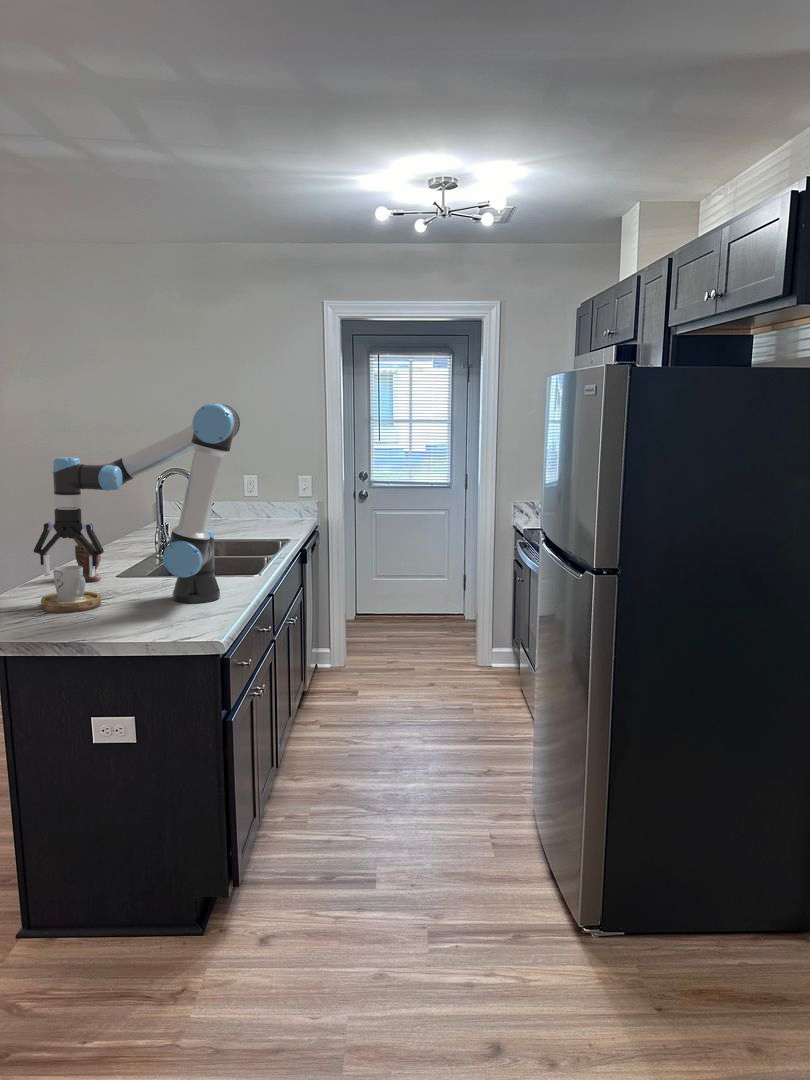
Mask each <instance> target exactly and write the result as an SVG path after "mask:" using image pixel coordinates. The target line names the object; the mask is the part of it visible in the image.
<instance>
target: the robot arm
mask: <svg viewBox="0 0 810 1080" xmlns="http://www.w3.org/2000/svg"><path fill="white" fill-rule="evenodd" d="M240 428H241V420H240V416H239V414H238V412H237V411H236V409H234V408H233V407H232V406H230V405H228V404H224V403H217V402H210V403H206V404H204V405H203V406H201V407H199V408H198V409H197V410H196V412H195V413H194V415H193V418H192V424H190V425H188V426H186V427H183V428H181V429H180V430H177V431H174V432H173V433H171V434H169V435H167V436H165V437H162V438H160V439H158V440H156V441H154V442H152V443H150V444H147V445H145V446H144V447H141V448H139V449H137V450H135V451H133V452H131V453H128V454H127V455H125V456H123V457H120V458H118V459H116V460H113V461H112V462H109V463H102V464H83V463H82V464H81V459H80V458H78V457H75V456H74V457H71V456H69V457H68V456H67V457H65V456H63V457H61V456H59V457H55V458H54V459H53V465H52V468H53V469H52V475H53V476H52V477H53V501H54V502H53V506H54V508H55V509H54V511H53V512H54V523H51V522H45V523H44V524H43V531H42V533H41V534H40V536H39V538H38V540H37V543H36V545H35V546H34V548H33V553H34V554H38V555H39V557H40V565H41V566H43V576H44V577H48V576H50V574H51V570H50V567H51V566H50V565H51V564H50V553H48V552H49V551H50V550H51V548H52V547H53V546H54V545H55V544H56V542H57V541H58V540H59V539H61V538H62V539H72V538H76V539H77V540H79V541H80V542H81V544H82V545H83V546H84V547H85V548H86V549H87V550H88V551H89V553H90V554H91V556H89V567H90V577H93V576H95V566H97V565H98V555H99V554H101V555H102V554H103V553H104V552H105V550H104V547H103V546H102V543H100V541H99V539H98V537H97V534H96V533H95V531H94V526H93V524H92V523H88V524H83V523H82V509H81V508H80V507H81V506H82V499H81V498H82V495H81V494H82V492H81V490H98V491H99V490H100V491H108V492H109V491H117V490H120V488H121V486H122V485H125V484H126V483H128V482H129V481H132V480H133V479H135V478H138V477H140V476H141V475H144V474H146V473H148V472H150V471H153V470H154V469H157V468H158V467H159V468H160V467H161V466H163V465H166V464H167V463H169V462H172V461H174V460H175V459H178V458H181V457H183V456H185V455H187V454H189V453H191V452H193V451H194V453H193V458H192V462H191V466H190V471H189V475H188V479H187V480H188V481H187V484H186V488H185V489H186V490H185V493H184V497H183V498H184V499H183V503H182V507H181V512H180V516H179V520H178V524H177V525H175V526H174V527H173V528H172V529H171V534H170V539H169V543H168V544H167V546H166V547H165V549H164V551H163V555H162V561H163V564H164V567H165V568H166V570H167V571H168V573H170V574H171V575H173V576H175V577H176V580H175V585H174V588H173V590H172V599H173V600H174V601H175V602H179V603H187V604H198V603H199V604H200V603H208V602H209V601H210V602H214V601H217V600H219V599H220V598H221V590H220V587H219V584H218V582H217V581H218V580H217V577H216V576H215V540H216V539H215V535H214V531H212V530H211V529H208V525H209V520H210V517H211V512H212V507H213V503H214V499H215V494H216V491H217V486H218V481H219V477H220V473H221V468H222V464H223V460H224V456H226V455H228V454H230V452H231V447H232V443H233V439H234V438H235V437H236V436H237V434H238V433H239V430H240ZM52 530H55V532H56V533H55V534H54V535H53V536H52V538H51V539H50V540H48V542H47V543H46V545H45V546H44V544H45V542H46V541H47V538H48V537H49V534H50V532H51V531H52ZM82 530H84V531H85V532H86V533H87V536H88V537H89V540H90V541H91V542H90V541H89V540H88V539H86V537H85V535H84V534H83V533H82ZM90 543H93V545H94V547H95V548H94V547H93V546H92V545H91V544H90ZM43 546H44V547H43ZM219 597H220V598H219ZM218 598H219V599H218ZM216 599H217V600H216ZM213 600H214V601H213ZM210 602H209V603H210Z"/></svg>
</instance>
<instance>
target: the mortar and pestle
mask: <svg viewBox="0 0 810 1080" xmlns="http://www.w3.org/2000/svg"><path fill="white" fill-rule="evenodd" d="M71 539H72V540H73V542H75V544H76V545H75V546H74V551H75V553H74V555H75V560H76V563H77V566H81V567H83V577H84V578H85V583H93V582H99V581H100V580H102V579H101V575H100V574H99V573H97V569H98V568H99V566H100V563H101V561H102V560H101V559H102V554H99V555H98V565H97V566H95V576H93V577H90V567H89V556H91V554H90V553H89V551H88V550H87V549H86V548H85V547H84V546H83V545H82V544H81V542H80V541H79V540H77V539H76V538H71ZM89 543H90V544H91V545H92V546H93V547H94V545H93V543H92V542H89ZM94 548H95V547H94Z"/></svg>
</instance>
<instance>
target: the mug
mask: <svg viewBox="0 0 810 1080" xmlns="http://www.w3.org/2000/svg"><path fill="white" fill-rule="evenodd" d="M52 570H53V571H52V572H53V580H54V586H55V587H54V588H55V591H56V593H57V596H58V599H59V600H60V601H76V600H79V599H80V597H81V596H83V595H84V591H85V589H86V582H85V578H84V577H83V567H81V566H78V565H74V564H73V565H60V566H55V567H54V568H53V569H52Z"/></svg>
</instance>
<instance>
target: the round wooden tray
mask: <svg viewBox="0 0 810 1080" xmlns="http://www.w3.org/2000/svg"><path fill="white" fill-rule="evenodd" d="M40 604H41V610H42V611H45V612H48V613H53V614H55V613H56V614H70V613H71V614H72V613H83V612H88V611H92V610H95V609H98V608H99V607H101V606H102V593H98V592H95V591H85V590H84V595H83V596H81V597H80V599H79V600H76V601H60V600H59V599H58V596H57V592H56V593H51V594H47V595H44V596H42V597H41V599H40Z"/></svg>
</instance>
